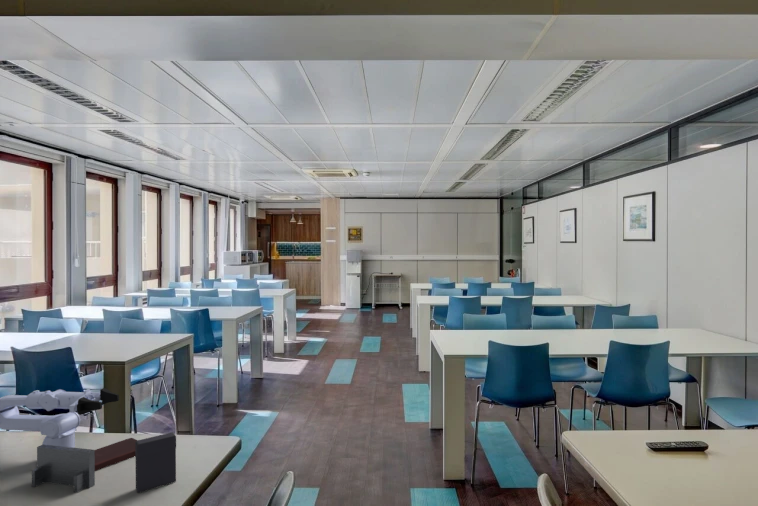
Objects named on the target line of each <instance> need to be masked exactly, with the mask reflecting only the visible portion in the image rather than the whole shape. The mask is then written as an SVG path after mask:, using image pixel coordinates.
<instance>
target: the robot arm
mask: <svg viewBox="0 0 758 506" xmlns="http://www.w3.org/2000/svg"><path fill="white" fill-rule="evenodd" d="M119 401H120V394H118V393H115V392H112V391H110V390H109V389H108V388H106V387H105V388H104V387H103V388H101V389H100V390H99V391H91V389H90V388H88V389H85V390H84V391H81V392H80V391H66V390H64V389H61V388H59V389H56V390H55V391H51V390H45V391H40V389H39V390H38V389H37V390H33V391H32V392H30V393H29V394H27V395H22V394H21V395H19V394H6V395H4V396H2V397H0V429H1V430H4V431H5V430H6V431H23V432H24V431H28V432H29V431H30V432H40V434H41V436H45V437H44V439H43V441H42V444H41V445H53V446H62V447H72V448H76V437H75V436H76V435H75V434H76V431H77V428H79V426H80V424H81V415H85V414H86V413H89V412H93V411H98V410H102V409H103V405H106V404H109V403H115V402H119ZM23 406H25V407H26V408H27V409H30V410H39V409H40V410H41V409H43V410H46V411H47V412H50V411H53V410H55V409H59V410H60V409H63V410H69V412H67V413H59V414H55V415H54V414H53V415H42V414H41V415H40V414H39V415H38V414H34V415H33V414H20V411H19V407H23Z"/></svg>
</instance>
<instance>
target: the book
mask: <svg viewBox="0 0 758 506" xmlns="http://www.w3.org/2000/svg"><path fill="white" fill-rule="evenodd" d="M138 440H139V439H135V438H133V437H129V438H126V439H122V440H119V441H117V442H114V443H111V444H109V445H105V446H102V447H99V448H96V449H94V450H95V472H96V471H99V470H102V469H105V468H107V467H108V468H109V467H110V466H113V465H116V464H119V463H122V462H125V461H127V460H130V459H132V458H135V457H134V456H135V442H136V441H138ZM129 458H130V459H129Z"/></svg>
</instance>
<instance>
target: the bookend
mask: <svg viewBox="0 0 758 506" xmlns="http://www.w3.org/2000/svg"><path fill="white" fill-rule="evenodd" d="M95 450H96V449H91V448H90V449H89V448H80V447H79V448H78V447H75V448H72V447H62V446H53V445H42V444H41V445H39V446H37V447H36V468H34V469H33V470H31V487H32V488H36V487H38V486H40V485H41V484H43V483H45V484H46V483H47V484H54V485H62V486H68V487H69V486H70V487H73V493H78V492H81V491H82V490H84V489H91V488H92V487H93V486H95V483H96V480H95V479H96V477H95V476H96V475H95V474H96V473H95V472H96V471H95Z"/></svg>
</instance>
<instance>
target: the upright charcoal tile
mask: <svg viewBox="0 0 758 506" xmlns="http://www.w3.org/2000/svg"><path fill="white" fill-rule="evenodd" d="M137 440H138V441H136V442H135V457H134V459H135V491H136V492H137V494H140V492H141V493H144V492H147V491H150V490H153V489H156V488H161V487H164V486H166V484H167V485H170V484H174V483H175V482H176V481H177V463H176V462H177V459H176V457H177V454H176V452H177V451H176V449H177V435H176V434H175V433H174V432H168V433H163V434H159V435H155V436H151V437H146V438H143V439H137ZM173 482H174V483H173ZM169 483H170V484H169ZM163 485H164V486H163Z"/></svg>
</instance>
